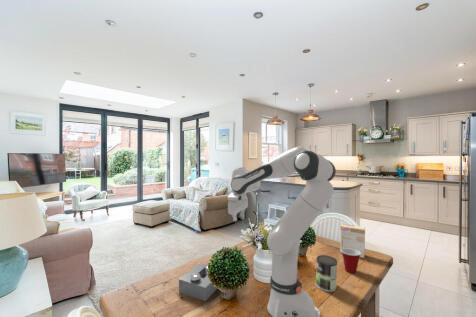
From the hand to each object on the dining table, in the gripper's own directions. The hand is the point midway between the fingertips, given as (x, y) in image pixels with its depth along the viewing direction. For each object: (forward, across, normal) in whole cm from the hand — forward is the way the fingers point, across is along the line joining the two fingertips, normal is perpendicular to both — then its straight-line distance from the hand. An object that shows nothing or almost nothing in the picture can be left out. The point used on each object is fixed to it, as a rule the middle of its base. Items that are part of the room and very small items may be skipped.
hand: (238, 218), depth 130 cm
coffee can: (+31, -8, +48) cm, 58 cm away
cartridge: (+29, +10, -10) cm, 32 cm away
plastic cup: (+31, -31, +60) cm, 74 cm away
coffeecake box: (+31, -57, +62) cm, 90 cm away
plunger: (+29, +28, -10) cm, 41 cm away
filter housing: (+31, +21, -10) cm, 39 cm away
